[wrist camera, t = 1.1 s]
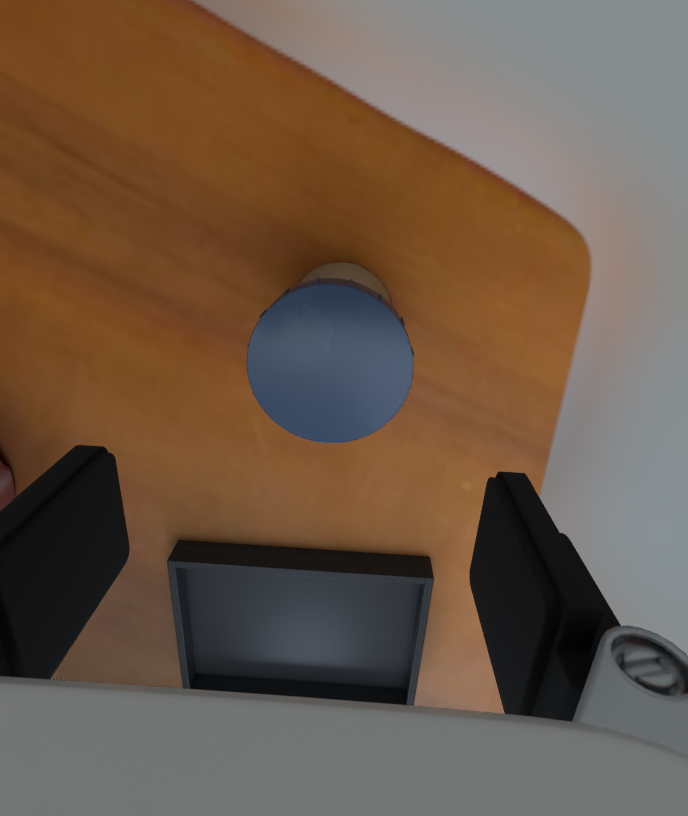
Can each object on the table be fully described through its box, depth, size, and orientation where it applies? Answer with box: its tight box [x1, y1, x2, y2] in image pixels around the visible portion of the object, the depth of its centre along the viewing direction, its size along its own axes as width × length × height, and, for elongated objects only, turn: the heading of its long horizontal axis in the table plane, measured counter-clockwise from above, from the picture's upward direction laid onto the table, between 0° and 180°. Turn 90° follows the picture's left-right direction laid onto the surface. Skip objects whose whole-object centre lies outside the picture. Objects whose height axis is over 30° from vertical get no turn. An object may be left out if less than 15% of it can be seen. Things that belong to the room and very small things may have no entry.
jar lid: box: [247, 277, 414, 443], centre depth 21 cm, size 7×7×2 cm
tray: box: [167, 541, 434, 706], centre depth 39 cm, size 19×14×2 cm
